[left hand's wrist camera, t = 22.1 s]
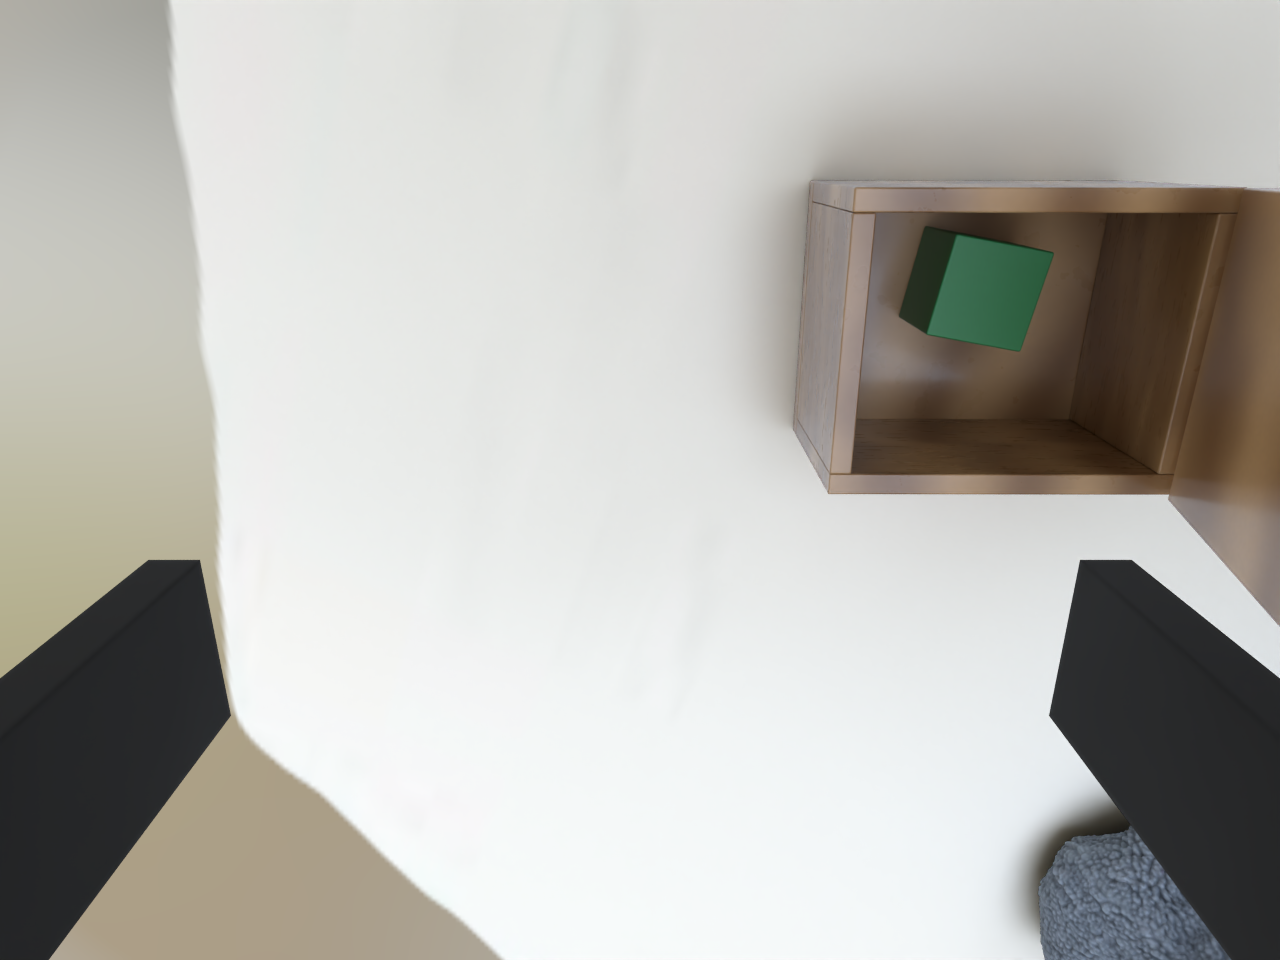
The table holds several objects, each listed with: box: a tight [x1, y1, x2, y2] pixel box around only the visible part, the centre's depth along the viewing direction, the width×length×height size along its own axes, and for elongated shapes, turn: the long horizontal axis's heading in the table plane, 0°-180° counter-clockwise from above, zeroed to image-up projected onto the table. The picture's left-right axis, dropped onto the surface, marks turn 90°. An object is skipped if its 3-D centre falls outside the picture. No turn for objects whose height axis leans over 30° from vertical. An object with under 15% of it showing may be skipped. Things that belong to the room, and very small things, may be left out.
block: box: [899, 226, 1054, 352], centre depth 37 cm, size 4×4×4 cm
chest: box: [793, 180, 1246, 494], centre depth 37 cm, size 14×12×9 cm
